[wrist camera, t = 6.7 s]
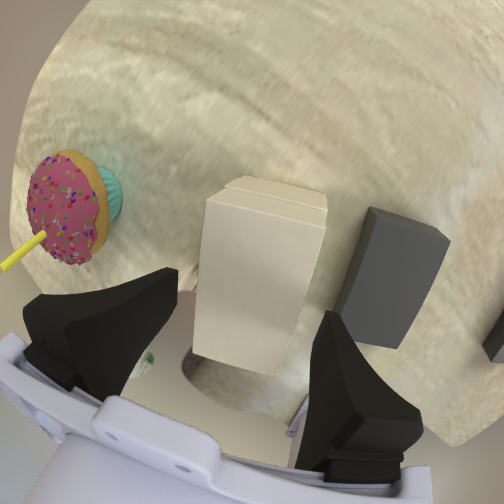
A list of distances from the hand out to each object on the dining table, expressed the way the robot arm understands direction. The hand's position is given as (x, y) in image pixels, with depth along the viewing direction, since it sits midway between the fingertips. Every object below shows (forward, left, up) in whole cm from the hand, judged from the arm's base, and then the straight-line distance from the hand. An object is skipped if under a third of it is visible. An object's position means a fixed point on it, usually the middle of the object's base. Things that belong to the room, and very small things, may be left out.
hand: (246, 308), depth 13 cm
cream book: (0, 0, -3) cm, 3 cm away
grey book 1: (0, -8, -8) cm, 11 cm away
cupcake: (+1, +15, -8) cm, 17 cm away
